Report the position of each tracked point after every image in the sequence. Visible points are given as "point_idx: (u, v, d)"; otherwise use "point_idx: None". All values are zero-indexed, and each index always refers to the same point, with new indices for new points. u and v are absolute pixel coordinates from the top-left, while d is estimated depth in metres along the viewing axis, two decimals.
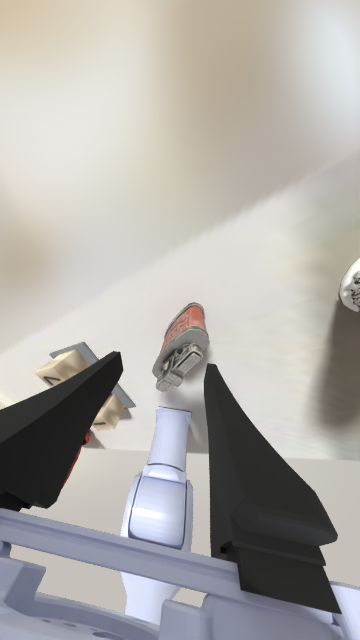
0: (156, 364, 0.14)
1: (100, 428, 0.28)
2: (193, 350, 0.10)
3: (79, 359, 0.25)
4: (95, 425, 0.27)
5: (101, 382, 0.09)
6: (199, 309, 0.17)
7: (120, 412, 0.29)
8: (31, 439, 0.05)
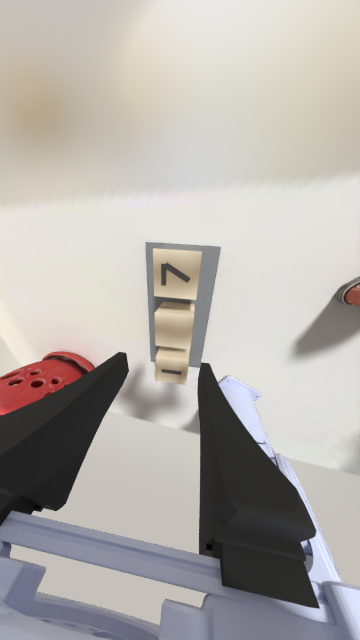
0: None
1: (163, 378, 0.19)
2: None
3: None
4: (161, 372, 0.19)
5: (108, 383, 0.09)
6: None
7: None
8: (43, 441, 0.05)
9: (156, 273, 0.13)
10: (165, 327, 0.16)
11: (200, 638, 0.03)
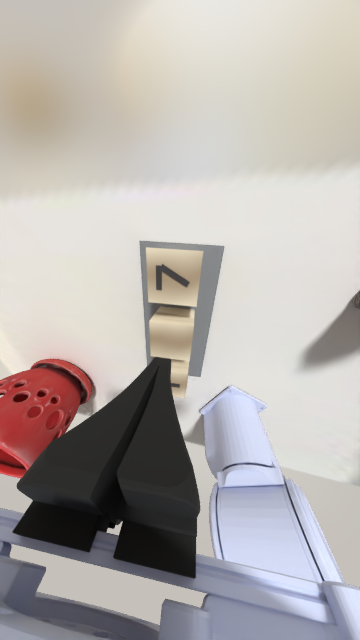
0: None
1: None
2: None
3: None
4: None
5: (152, 390, 0.09)
6: None
7: None
8: (119, 456, 0.05)
9: (150, 276, 0.11)
10: (162, 336, 0.14)
11: (200, 638, 0.03)
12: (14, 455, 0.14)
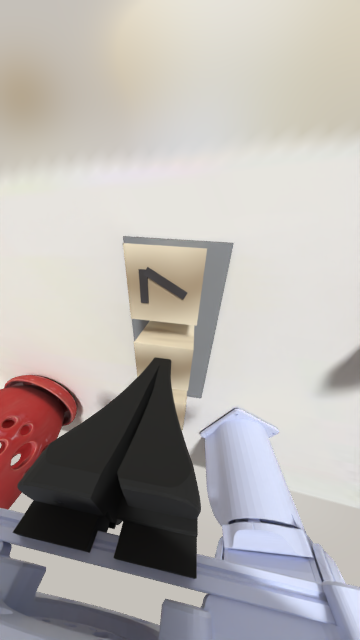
0: None
1: None
2: None
3: None
4: None
5: (153, 390, 0.09)
6: None
7: None
8: (120, 456, 0.05)
9: (132, 284, 0.08)
10: None
11: (200, 638, 0.03)
12: None
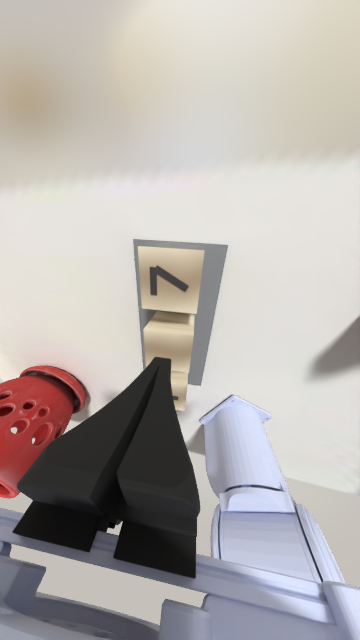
0: None
1: None
2: None
3: None
4: None
5: (152, 389, 0.09)
6: None
7: None
8: (119, 456, 0.05)
9: (143, 279, 0.10)
10: (158, 346, 0.12)
11: (200, 638, 0.03)
12: None
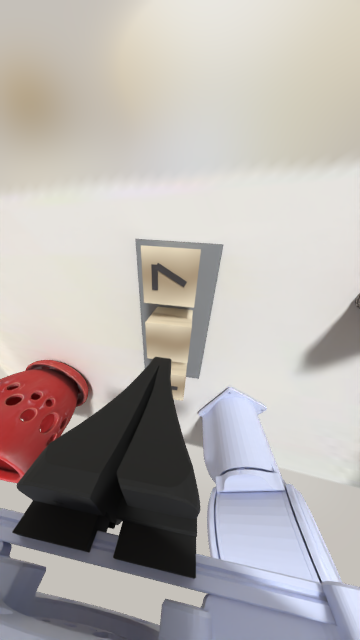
0: None
1: None
2: None
3: None
4: None
5: (152, 390, 0.09)
6: None
7: None
8: (119, 456, 0.05)
9: (146, 276, 0.11)
10: (158, 338, 0.13)
11: (200, 638, 0.03)
12: (6, 460, 0.14)
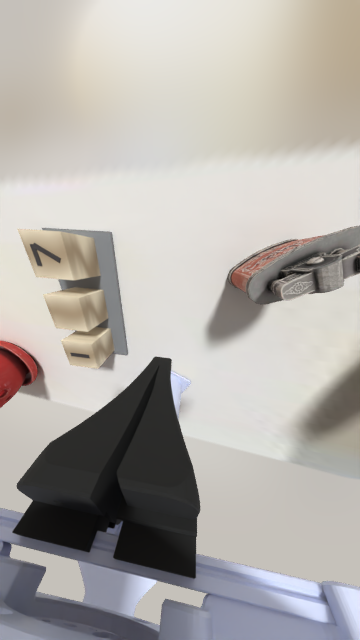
0: (268, 269, 0.10)
1: (76, 363, 0.20)
2: None
3: (92, 254, 0.17)
4: (71, 356, 0.19)
5: (152, 389, 0.09)
6: None
7: (108, 353, 0.22)
8: (119, 456, 0.05)
9: (29, 254, 0.14)
10: (58, 308, 0.16)
11: (200, 638, 0.03)
12: None
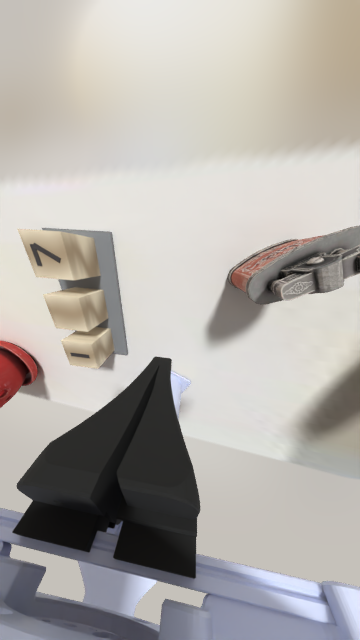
0: (268, 269, 0.10)
1: (76, 363, 0.20)
2: None
3: (92, 254, 0.17)
4: (71, 356, 0.19)
5: (152, 389, 0.09)
6: None
7: (108, 353, 0.22)
8: (119, 456, 0.05)
9: (29, 254, 0.14)
10: (58, 308, 0.16)
11: (200, 638, 0.03)
12: None
